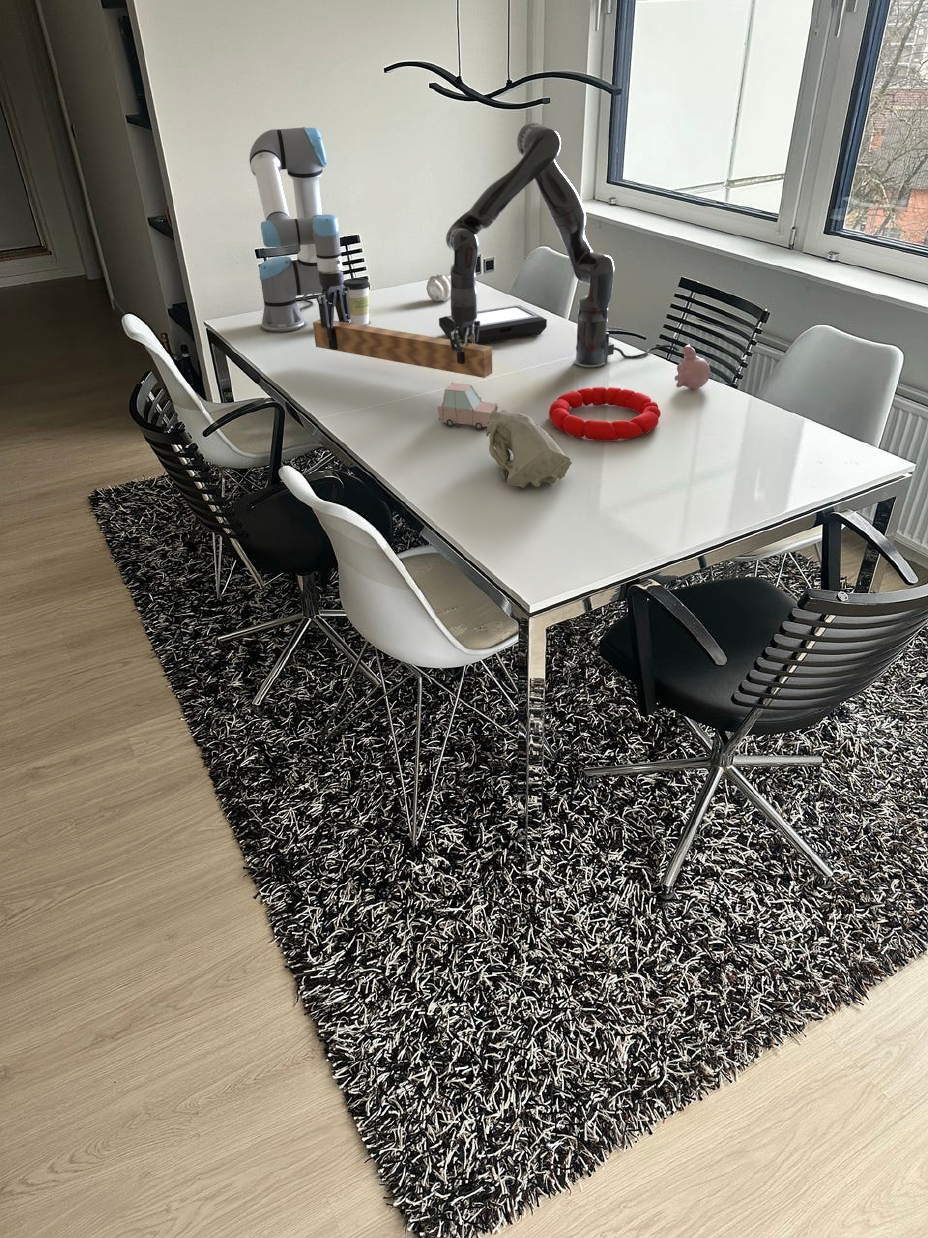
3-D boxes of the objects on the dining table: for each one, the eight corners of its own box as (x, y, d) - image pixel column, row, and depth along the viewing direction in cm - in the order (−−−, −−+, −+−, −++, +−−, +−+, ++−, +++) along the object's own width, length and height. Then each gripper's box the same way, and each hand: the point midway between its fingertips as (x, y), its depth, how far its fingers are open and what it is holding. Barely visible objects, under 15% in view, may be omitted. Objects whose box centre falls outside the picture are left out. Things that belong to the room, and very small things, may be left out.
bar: (315, 346, 288) (312, 322, 283) (324, 342, 291) (321, 318, 286) (484, 378, 259) (484, 351, 255) (492, 373, 262) (492, 346, 258)
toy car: (488, 432, 240) (488, 396, 234) (436, 426, 244) (434, 390, 239) (499, 419, 247) (499, 384, 241) (448, 413, 252) (447, 379, 246)
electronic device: (462, 330, 295) (438, 315, 310) (462, 349, 298) (439, 333, 313) (546, 317, 305) (520, 303, 320) (546, 335, 309) (520, 320, 324)
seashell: (419, 300, 350) (418, 274, 344) (453, 294, 355) (452, 268, 350) (431, 306, 342) (430, 279, 336) (465, 300, 348) (465, 273, 342)
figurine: (665, 387, 264) (669, 347, 257) (693, 380, 268) (698, 340, 261) (686, 396, 257) (690, 355, 250) (714, 388, 262) (720, 348, 255)
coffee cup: (372, 326, 323) (368, 283, 314) (345, 327, 323) (340, 284, 315) (374, 318, 331) (371, 276, 322) (348, 319, 331) (344, 277, 323)
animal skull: (496, 517, 219) (521, 479, 201) (463, 429, 225) (484, 384, 207) (557, 503, 225) (586, 465, 206) (523, 417, 231) (549, 373, 212)
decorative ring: (589, 435, 224) (684, 402, 234) (527, 398, 247) (617, 369, 256) (589, 461, 229) (683, 427, 238) (529, 422, 251) (617, 393, 260)
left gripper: (321, 279, 264) (330, 356, 278) (357, 265, 276) (364, 340, 290) (302, 276, 267) (312, 352, 281) (338, 262, 279) (346, 336, 293)
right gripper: (461, 310, 246) (463, 370, 256) (488, 296, 256) (489, 355, 266) (439, 306, 249) (441, 366, 259) (465, 293, 259) (467, 351, 269)
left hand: (338, 346), depth 285 cm, fingers closed on bar, 5 cm apart
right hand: (465, 360), depth 262 cm, fingers closed on bar, 4 cm apart
